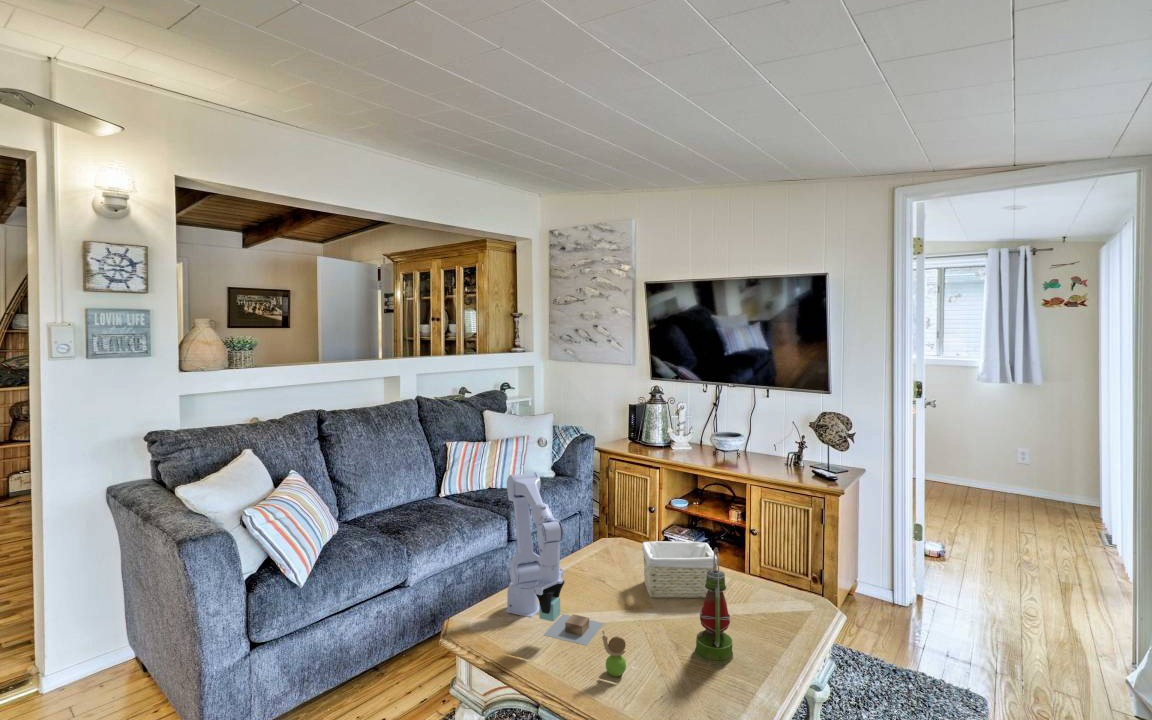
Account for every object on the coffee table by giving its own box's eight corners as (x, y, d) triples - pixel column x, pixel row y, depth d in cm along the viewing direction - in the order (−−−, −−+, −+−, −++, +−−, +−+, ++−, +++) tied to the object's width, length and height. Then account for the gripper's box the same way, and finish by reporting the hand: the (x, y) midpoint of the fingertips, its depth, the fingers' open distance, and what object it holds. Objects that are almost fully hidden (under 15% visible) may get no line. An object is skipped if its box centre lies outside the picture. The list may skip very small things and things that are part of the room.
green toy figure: (600, 669, 160) (601, 626, 159) (624, 668, 160) (624, 625, 160) (603, 681, 155) (603, 636, 154) (627, 680, 155) (628, 635, 154)
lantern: (692, 639, 175) (694, 539, 174) (729, 641, 174) (731, 541, 173) (697, 666, 162) (699, 558, 160) (737, 668, 161) (740, 560, 159)
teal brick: (539, 618, 172) (539, 601, 172) (546, 611, 176) (546, 595, 176) (553, 621, 170) (553, 604, 170) (560, 614, 174) (560, 597, 174)
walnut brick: (565, 632, 178) (565, 622, 178) (572, 623, 183) (572, 614, 183) (582, 636, 176) (582, 626, 176) (589, 627, 181) (589, 617, 181)
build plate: (543, 636, 177) (543, 635, 177) (562, 615, 189) (563, 614, 189) (586, 646, 171) (586, 645, 171) (604, 624, 184) (604, 623, 184)
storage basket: (706, 580, 217) (707, 540, 216) (718, 600, 200) (719, 558, 199) (640, 580, 216) (641, 540, 215) (647, 601, 200) (648, 558, 199)
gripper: (551, 575, 164) (550, 623, 165) (572, 556, 177) (572, 600, 178) (528, 570, 167) (528, 617, 168) (551, 552, 180) (551, 596, 181)
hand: (549, 608), depth 173 cm, fingers closed on teal brick, 4 cm apart
